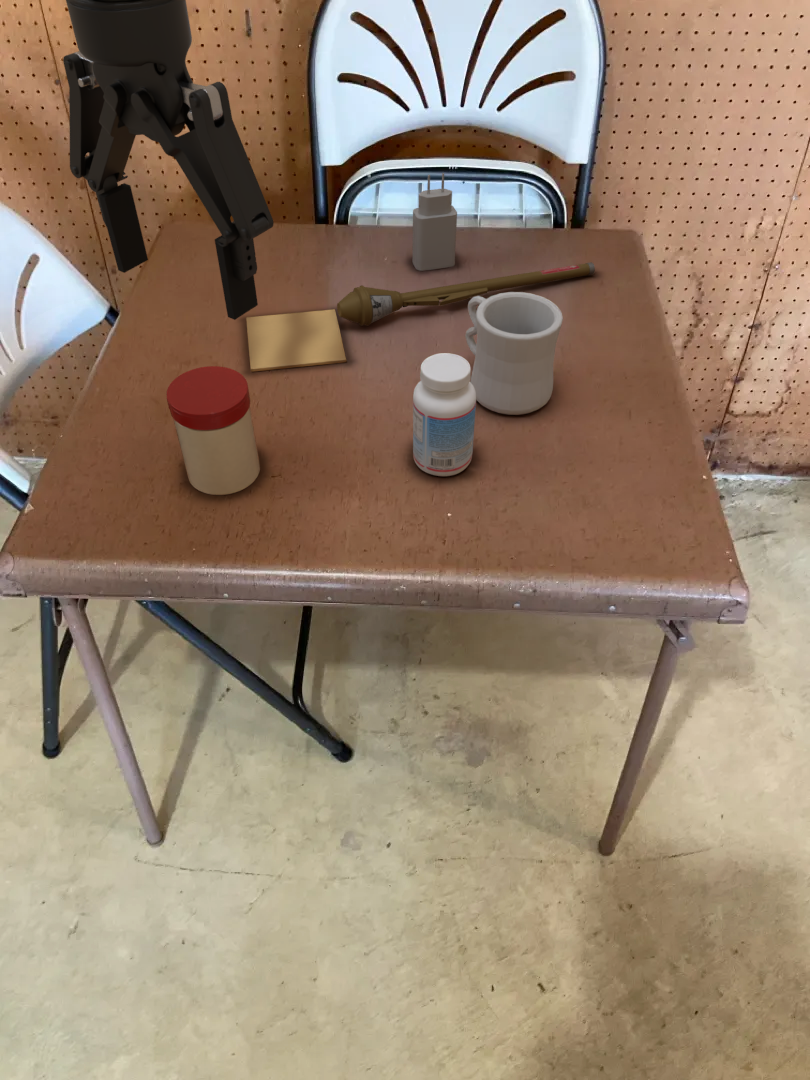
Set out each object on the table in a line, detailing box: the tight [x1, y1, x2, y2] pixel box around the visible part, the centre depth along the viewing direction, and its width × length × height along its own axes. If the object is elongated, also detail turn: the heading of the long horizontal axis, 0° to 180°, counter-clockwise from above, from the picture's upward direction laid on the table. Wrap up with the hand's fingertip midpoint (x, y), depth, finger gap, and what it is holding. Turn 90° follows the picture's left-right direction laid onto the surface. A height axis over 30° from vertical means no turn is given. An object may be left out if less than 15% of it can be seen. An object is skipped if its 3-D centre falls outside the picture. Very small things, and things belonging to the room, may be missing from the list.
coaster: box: [245, 308, 347, 373], centre depth 100 cm, size 11×11×1 cm
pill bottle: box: [412, 352, 477, 477], centre depth 82 cm, size 6×6×11 cm
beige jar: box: [172, 406, 261, 496], centre depth 81 cm, size 7×7×10 cm
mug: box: [464, 291, 564, 416], centre depth 91 cm, size 12×9×10 cm
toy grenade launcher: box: [336, 261, 596, 327], centre depth 106 cm, size 5×35×5 cm
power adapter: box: [411, 172, 458, 272], centre depth 109 cm, size 3×5×12 cm, turn 105°
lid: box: [166, 365, 251, 430], centre depth 78 cm, size 8×7×2 cm
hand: (186, 287), depth 70 cm, fingers open, 12 cm apart
